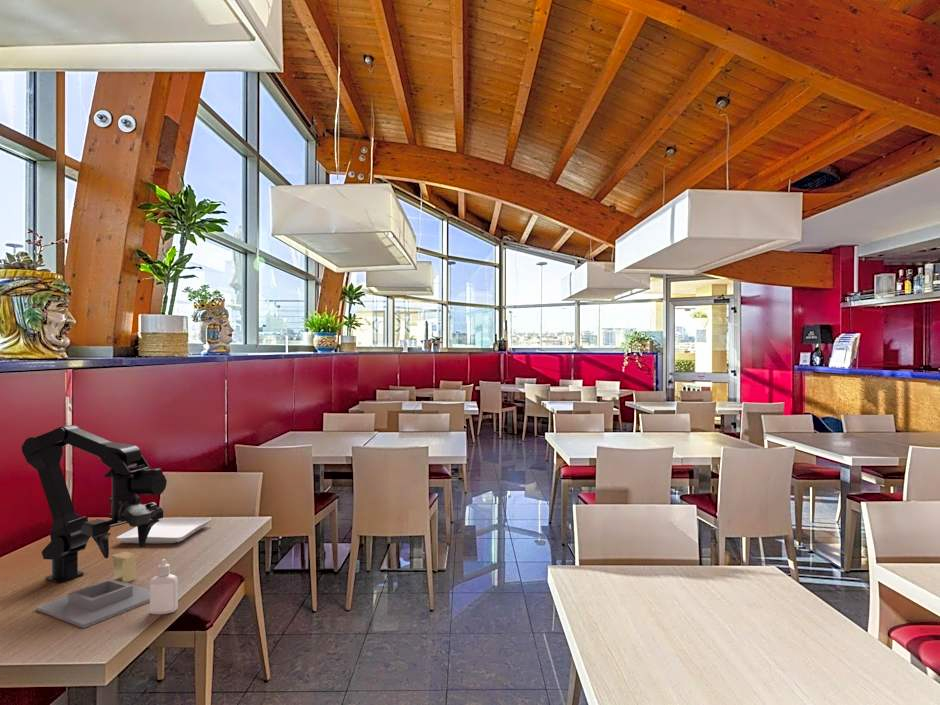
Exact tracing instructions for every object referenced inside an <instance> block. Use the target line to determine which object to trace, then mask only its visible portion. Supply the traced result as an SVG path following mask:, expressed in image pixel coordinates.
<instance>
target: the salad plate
mask: <svg viewBox="0 0 940 705" xmlns="http://www.w3.org/2000/svg"><path fill="white" fill-rule="evenodd" d="M158 520H159V522H157V523H155V524H154V525H153V526H152V527H151V529H150V531H149V534H148V536H147V539H146V542H145V544H175V543H176V542H177V543H180V542H181V541H183V540H185V539H186V538H189V537H190V536H191V535H193V534H195V533H196V532H197V531H199V530H201V529H203V528H204V527H206V526H207V525H208V524H209V523H210V522H211V521H212V518H211V517H164V518H161V519H158ZM116 540H118V541H119V542H122V543H125V544H139V540H138V527H132V529H130V530H128V531H126V532H124V533H122V534H120V535H118V536H116Z"/></svg>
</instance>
